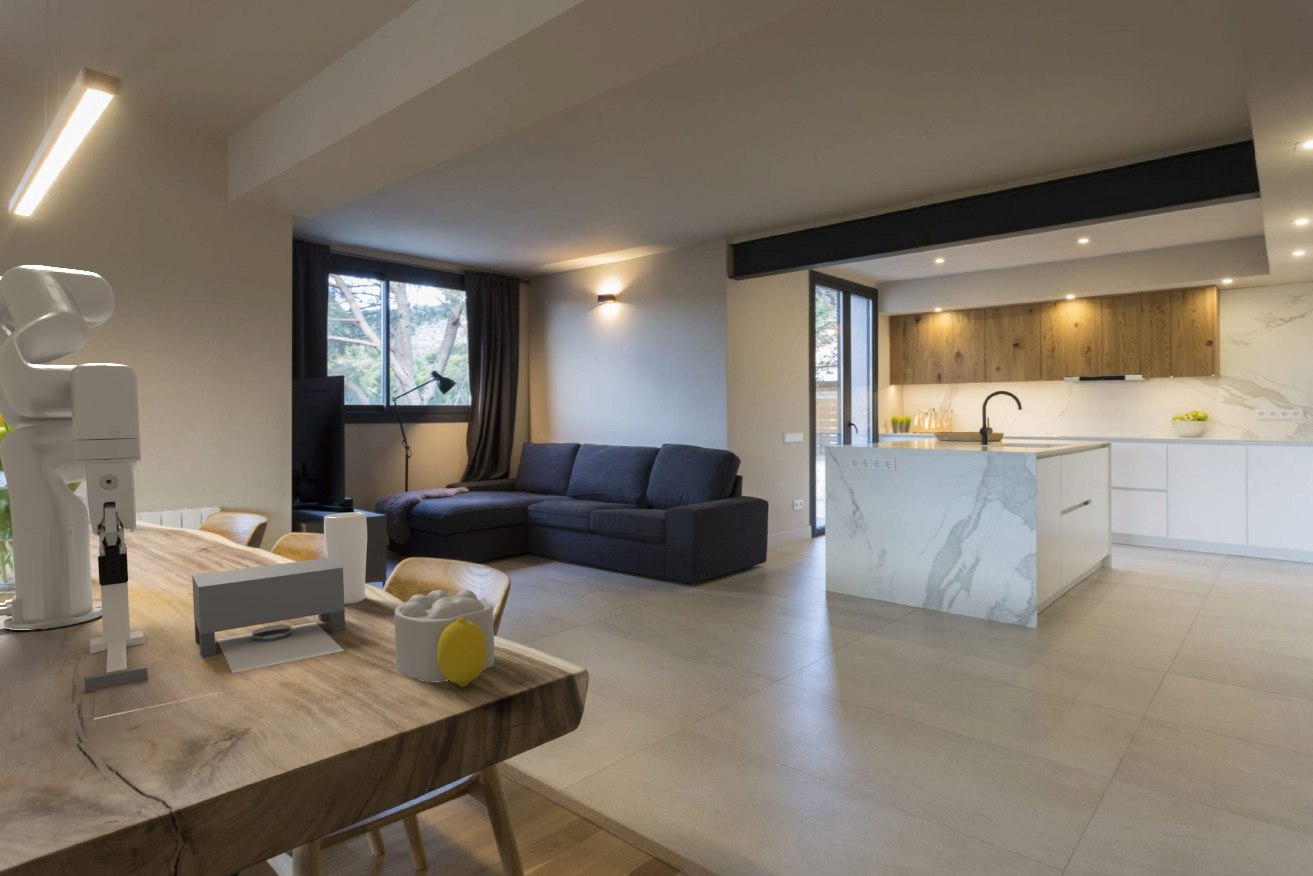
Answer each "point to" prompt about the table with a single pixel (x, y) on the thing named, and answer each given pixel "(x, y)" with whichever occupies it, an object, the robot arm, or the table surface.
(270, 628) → the disc
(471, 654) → the lemon
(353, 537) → the drinking glass
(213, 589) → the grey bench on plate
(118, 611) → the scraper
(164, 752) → the table surface
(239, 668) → the mat
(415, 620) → the lumpy-topped squat cylinder
